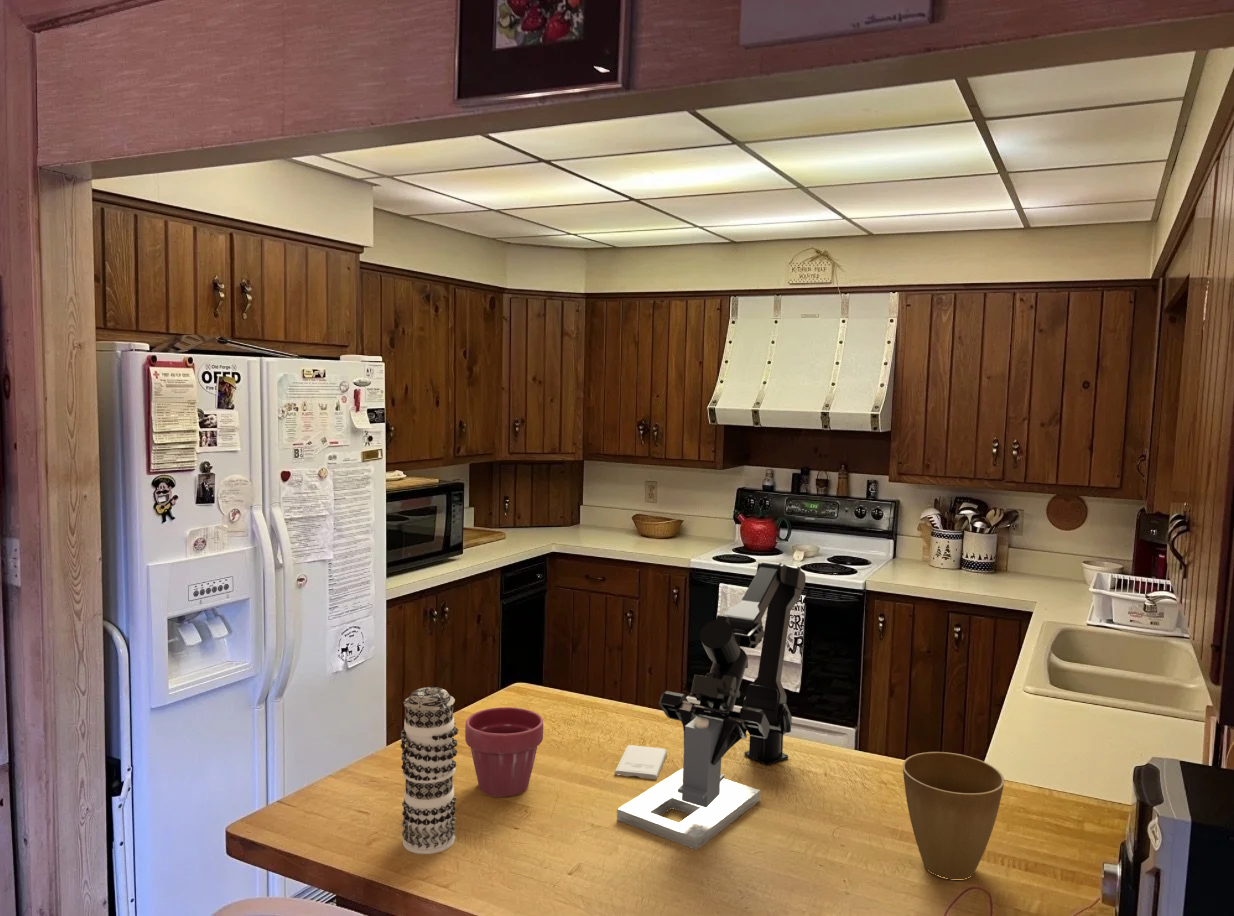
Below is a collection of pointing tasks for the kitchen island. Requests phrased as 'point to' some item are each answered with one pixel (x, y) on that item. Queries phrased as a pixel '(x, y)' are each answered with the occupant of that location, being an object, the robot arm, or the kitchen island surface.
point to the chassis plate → (687, 811)
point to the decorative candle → (429, 771)
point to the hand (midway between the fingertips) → (699, 760)
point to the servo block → (701, 762)
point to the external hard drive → (641, 761)
